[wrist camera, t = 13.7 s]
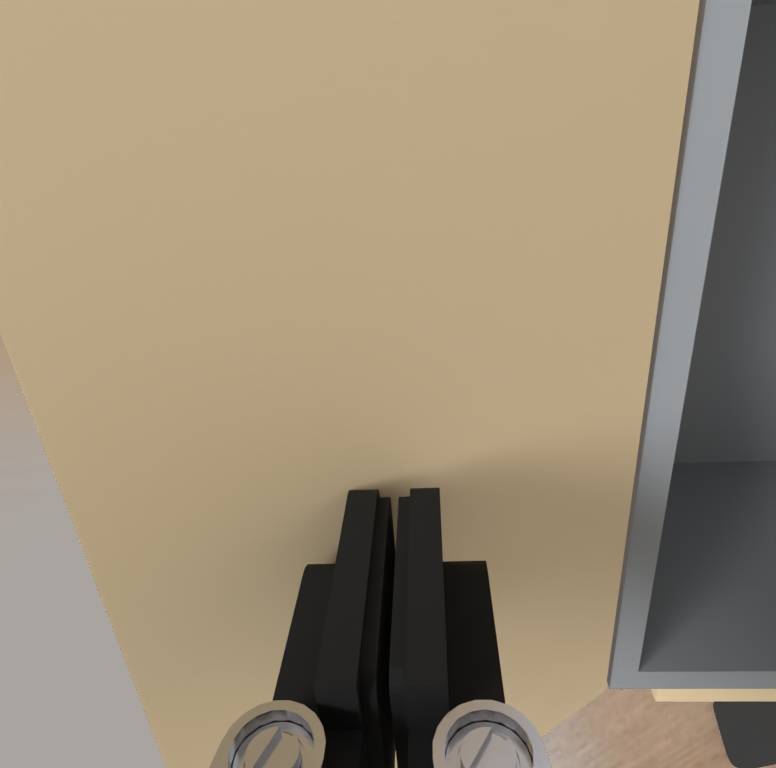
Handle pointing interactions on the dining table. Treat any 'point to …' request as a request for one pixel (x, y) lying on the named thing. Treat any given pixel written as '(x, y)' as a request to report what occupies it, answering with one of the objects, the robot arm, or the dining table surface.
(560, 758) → the dining table surface
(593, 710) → the dining table surface
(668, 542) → the carton
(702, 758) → the dining table surface
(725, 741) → the phone
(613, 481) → the carton flap
